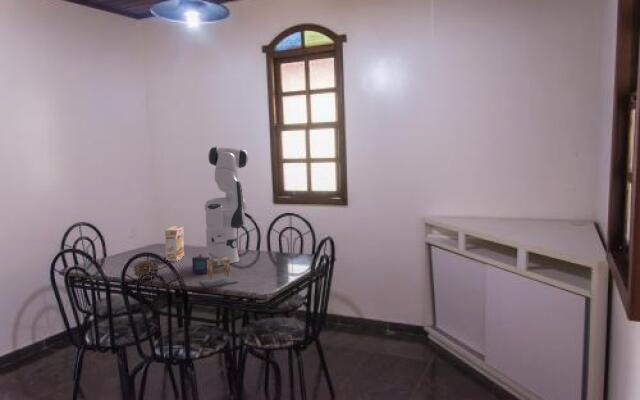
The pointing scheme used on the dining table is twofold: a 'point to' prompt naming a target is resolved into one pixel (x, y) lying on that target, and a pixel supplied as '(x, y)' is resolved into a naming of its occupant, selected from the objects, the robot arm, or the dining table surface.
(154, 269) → the pine cone
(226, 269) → the stool
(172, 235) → the coffeecake box
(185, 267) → the dining table surface
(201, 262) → the flask
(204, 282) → the mat
